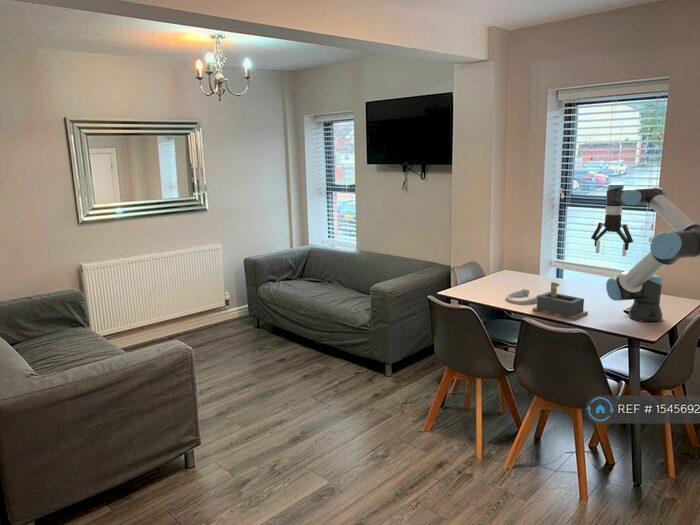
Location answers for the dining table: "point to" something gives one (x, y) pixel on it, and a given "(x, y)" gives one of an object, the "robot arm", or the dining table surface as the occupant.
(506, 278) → the dining table surface
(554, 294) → the hook board
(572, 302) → the grey storage bin
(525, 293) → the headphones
